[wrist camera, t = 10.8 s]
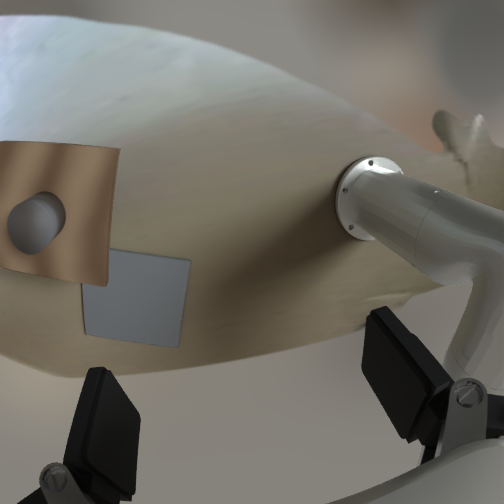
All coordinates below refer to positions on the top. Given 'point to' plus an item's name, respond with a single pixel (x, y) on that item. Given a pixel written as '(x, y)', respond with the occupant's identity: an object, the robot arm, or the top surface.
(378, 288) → the top surface
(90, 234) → the walnut lid
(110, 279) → the rubber mat
